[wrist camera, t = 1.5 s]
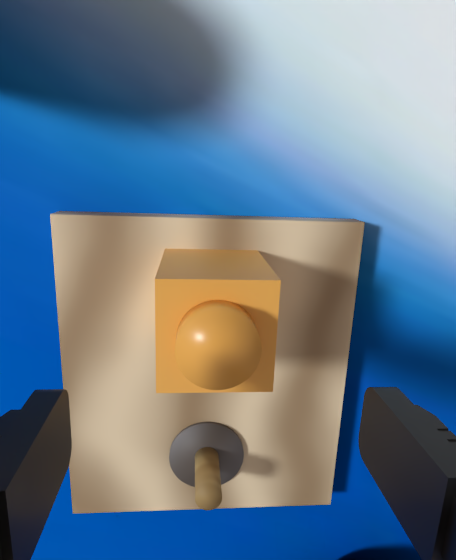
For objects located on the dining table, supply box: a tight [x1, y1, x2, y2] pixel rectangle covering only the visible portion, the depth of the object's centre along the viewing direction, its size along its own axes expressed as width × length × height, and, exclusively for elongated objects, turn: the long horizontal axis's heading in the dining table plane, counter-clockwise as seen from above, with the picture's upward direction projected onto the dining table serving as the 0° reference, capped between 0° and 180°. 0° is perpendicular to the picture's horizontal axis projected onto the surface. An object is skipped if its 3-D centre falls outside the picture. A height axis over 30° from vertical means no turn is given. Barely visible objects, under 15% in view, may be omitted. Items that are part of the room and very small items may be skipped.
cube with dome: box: [155, 249, 281, 393], centre depth 19 cm, size 5×5×7 cm
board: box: [50, 211, 365, 513], centre depth 22 cm, size 16×18×5 cm
